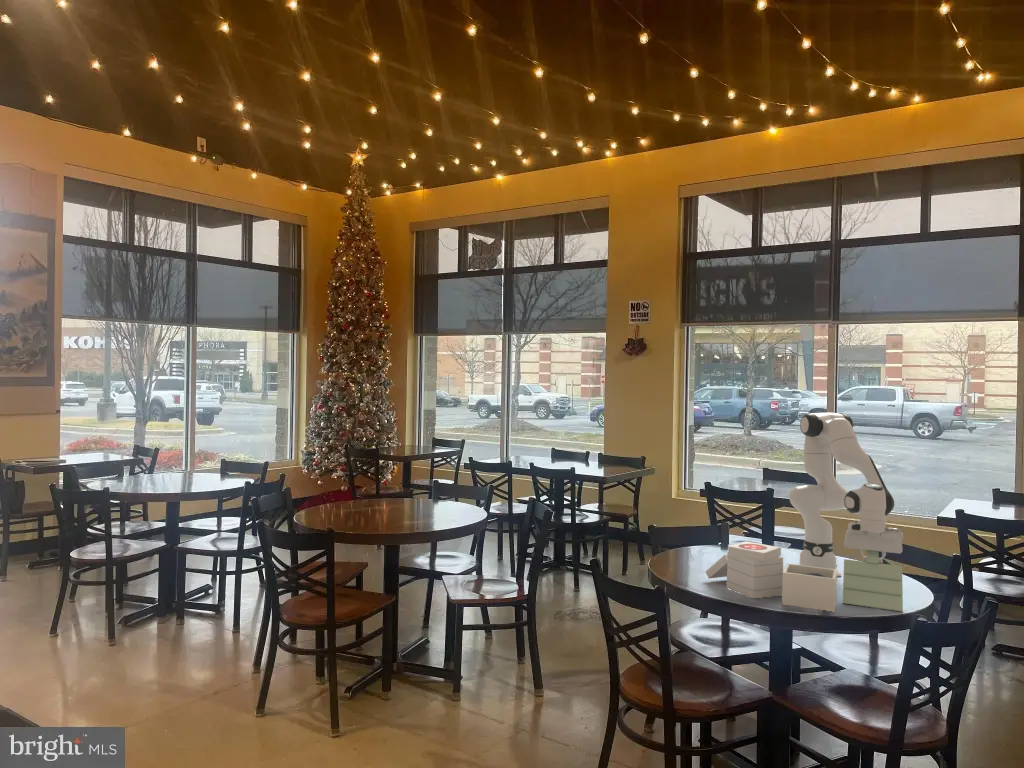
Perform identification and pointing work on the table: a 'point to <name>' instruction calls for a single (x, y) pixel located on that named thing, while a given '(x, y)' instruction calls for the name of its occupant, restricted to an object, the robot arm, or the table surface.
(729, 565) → the pizza boxes
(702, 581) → the table surface
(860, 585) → the lid
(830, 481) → the robot arm
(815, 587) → the tub
